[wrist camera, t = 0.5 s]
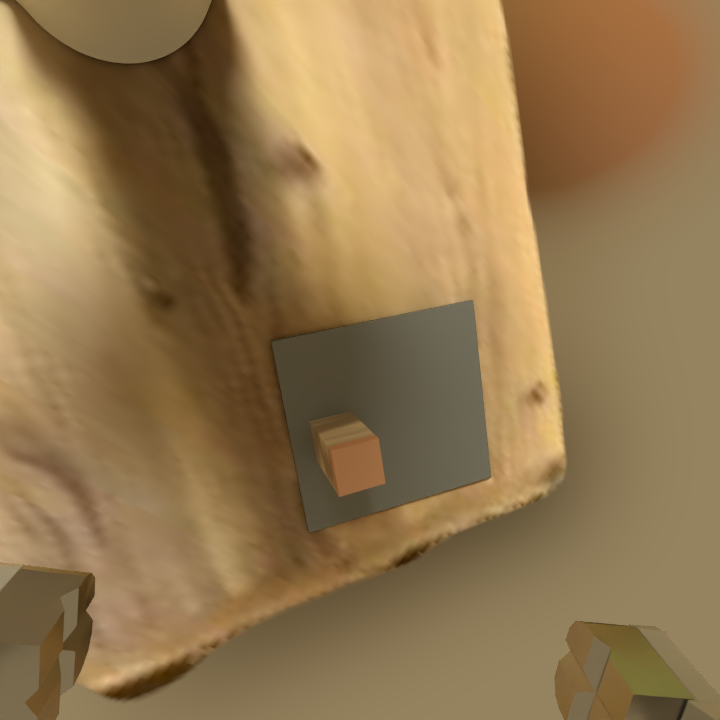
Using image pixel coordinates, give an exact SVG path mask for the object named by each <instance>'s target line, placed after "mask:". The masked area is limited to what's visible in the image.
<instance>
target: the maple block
mask: <svg viewBox="0 0 720 720" xmlns="http://www.w3.org/2000/svg"><path fill="white" fill-rule="evenodd" d="M309 422H310V428H311V433H312V438H313V444H314V449H315V455H316V460H317V462H318V464H319V466H320V467H321V469H322V470H323V472H324V474H325V475H326V477H327V478H328V480H329V482H330V483H331V485H332V486H333V488H334V490H335V491H336V493H337V494H338V496H339V497H341V496H345V495H348V494H351V493H355V492H358V491H362V490H365V489H368V488H372V487H375V486H379V485H382V484H385V476H384V470H383V463H382V457H381V450H380V444H379V438H378V437H377V436H376V435H375V434H374V433H373V432H372V431H371V430H369V429H368V428H367V427H366V426H365V425H364V424H363V423H362V422H361V421H360V420H359V419H358V418H357V417H356V416H355V415H354V414H353V413H352V412H351V411H349V412H345V413H341V414H337V415H333V416H329V417H325V418H321V419H317V420H313V421H309Z"/></svg>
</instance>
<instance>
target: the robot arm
mask: <svg viewBox="0 0 720 720" xmlns="http://www.w3.org/2000/svg"><path fill="white" fill-rule="evenodd" d="M16 1H17V2H18V3H19V4H20V5H21V6H22V7H23V8H24V9H25V10H26V11H27V12H28V13H29V14H30V15H31V16H32V18H33V19H34V20H35V21H36V22H37V23H38V24H39V25H40V26H42V27H43V28H44V29H45V30H46V31H47V32H48V33H50V34H51V35H52V36H54V37H55V38H56V39H58V40H59V41H61V42H62V43H64V44H65V45H67V46H69V47H71V48H72V49H74V50H76V51H78V52H81V53H83V54H85V55H88V56H90V57H93V58H96V59H100V60H104V61H109V62H115V63H143V62H148V61H152V60H156V59H159V58H162V57H164V56H166V55H169V54H170V53H172V52H174V51H176V50H177V49H179V48H180V47H181V46H183V45H184V44H185V43H186V42H187V41H188V40H189V39H190V38H191V37H192V36H193V35H194V34H195V32H196V31H197V30H198V28H199V27H200V25H201V24H202V22H203V20H204V18H205V16H206V14H207V11H208V9H209V6H210V4H211V1H212V0H16ZM94 593H95V577H94V575H93V574H92V573H89V572H80V571H72V570H64V569H56V568H47V567H39V566H31V565H27V566H25V565H20V564H11V563H1V562H0V720H55V719H56V718H57V716H58V714H59V702H60V695H62V694H63V693H65V692H66V691H67V690H69V689H70V688H72V687H73V686H74V684H75V682H76V680H77V678H78V676H79V674H80V672H81V670H82V667H83V664H84V661H85V658H86V655H87V652H88V649H89V644H90V639H91V634H92V623H93V620H92V618H91V617H90V615H89V614H88V613H87V611H86V609H87V608H88V606H89V604H90V603H91V601H92V599H93V597H94ZM566 642H567V644H568V646H569V649H570V652H569V653H568V654H566V655H565V656H564V657H563V658H562V659H561V660H559V663H558V666H557V670H556V674H555V696H556V699H557V703H558V707H559V709H560V712H561V714H562V716H563V718H564V720H720V695H719V694H718V693H717V692H716V691H715V689H714V688H713V687H712V686H711V685H710V684H709V682H708V681H707V680H706V679H705V678H704V677H703V676H702V674H701V673H700V672H699V671H698V670H697V669H696V668H695V666H694V665H693V664H692V663H691V662H690V660H689V659H688V658H687V657H686V656H685V655H684V653H683V652H682V651H681V650H680V649H679V648H678V647H677V646H676V644H675V643H674V642H673V641H672V640H671V638H670V637H669V636H668V635H667V634H666V633H665V632H664V631H662V630H661V629H659V628H657V627H655V626H641V625H628V626H627V625H616V624H605V623H594V622H583V621H575V622H574V623H573V624H572V625H571V627H570V628H569V631H568V634H567V637H566Z"/></svg>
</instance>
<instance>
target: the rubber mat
mask: <svg viewBox="0 0 720 720" xmlns="http://www.w3.org/2000/svg"><path fill="white" fill-rule="evenodd" d="M271 345H272V350H273V355H274V360H275V365H276V370H277V375H278V380H279V386H280V391H281V396H282V401H283V406H284V411H285V416H286V421H287V426H288V431H289V437H290V442H291V447H292V452H293V457H294V462H295V467H296V472H297V477H298V482H299V488H300V493H301V498H302V503H303V508H304V513H305V518H306V523H307V528H308V532H309V533H311V532H314V531H317V530H321V529H324V528H327V527H330V526H334V525H337V524H340V523H343V522H347V521H350V520H353V519H356V518H360V517H363V516H366V515H369V514H373V513H376V512H379V511H382V510H386V509H389V508H392V507H395V506H399V505H402V504H405V503H408V502H412V501H415V500H418V499H421V498H425V497H428V496H431V495H434V494H438V493H441V492H444V491H447V490H451V489H454V488H457V487H460V486H464V485H467V484H470V483H473V482H477V481H480V480H483V479H487V478H490V477H491V471H490V461H489V451H488V441H487V432H486V422H485V412H484V402H483V392H482V382H481V373H480V363H479V353H478V343H477V333H476V323H475V313H474V304H473V300H469V301H464V302H459V303H454V304H449V305H444V306H440V307H435V308H430V309H425V310H420V311H415V312H410V313H406V314H401V315H396V316H391V317H386V318H381V319H376V320H371V321H367V322H362V323H357V324H352V325H347V326H342V327H337V328H332V329H328V330H323V331H318V332H313V333H308V334H303V335H298V336H293V337H289V338H284V339H279V340H274V341H271ZM349 411H351V412H352V413H353V414H354V415H355V416H356V417H357V418H358V419H359V420H360V421H361V422H362V423H363V424H364V425H365V426H366V427H367V428H368V429H369V430H371V431H372V432H373V433H374V434H375V435H376V436H377V437H378V438H379V444H380V450H381V457H382V463H383V470H384V476H385V484H382V485H379V486H375V487H372V488H368V489H365V490H362V491H358V492H355V493H351V494H348V495H345V496H341V497H339V496H338V494H337V493H336V491H335V490H334V488H333V486H332V485H331V483H330V482H329V480H328V478H327V477H326V475H325V474H324V472H323V470H322V469H321V467H320V466H319V464H318V462H317V460H316V455H315V449H314V444H313V438H312V433H311V428H310V422H309V421H313V420H317V419H321V418H325V417H329V416H333V415H337V414H341V413H345V412H349Z"/></svg>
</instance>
